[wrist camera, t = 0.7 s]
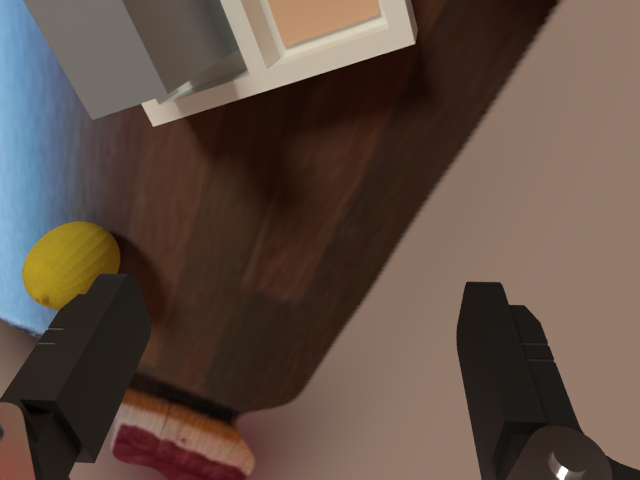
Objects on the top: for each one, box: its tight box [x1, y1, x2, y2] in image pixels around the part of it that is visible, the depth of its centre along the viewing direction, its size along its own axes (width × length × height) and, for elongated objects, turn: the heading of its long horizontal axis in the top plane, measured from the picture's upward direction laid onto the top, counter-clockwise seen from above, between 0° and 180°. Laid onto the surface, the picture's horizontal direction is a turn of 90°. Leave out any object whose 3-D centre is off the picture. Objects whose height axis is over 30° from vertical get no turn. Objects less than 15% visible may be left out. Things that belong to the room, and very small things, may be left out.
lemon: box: [22, 222, 120, 310], centre depth 35 cm, size 6×6×8 cm
